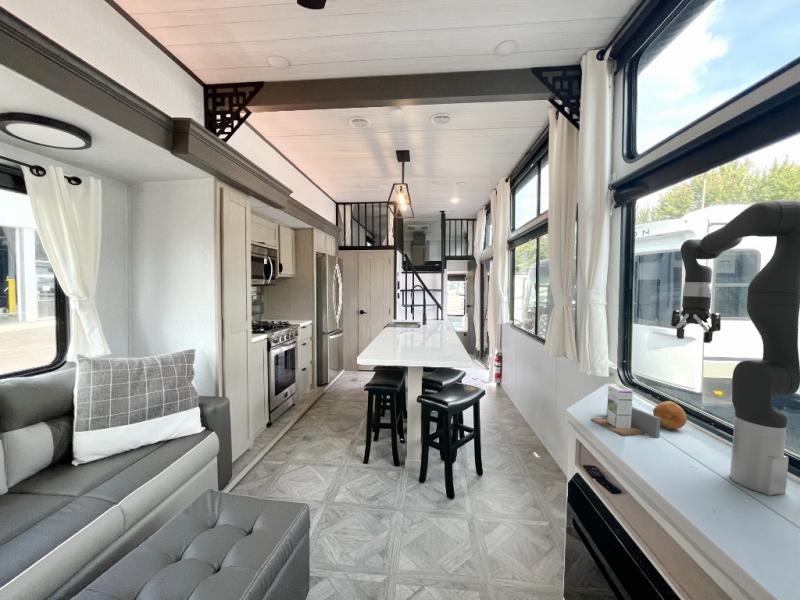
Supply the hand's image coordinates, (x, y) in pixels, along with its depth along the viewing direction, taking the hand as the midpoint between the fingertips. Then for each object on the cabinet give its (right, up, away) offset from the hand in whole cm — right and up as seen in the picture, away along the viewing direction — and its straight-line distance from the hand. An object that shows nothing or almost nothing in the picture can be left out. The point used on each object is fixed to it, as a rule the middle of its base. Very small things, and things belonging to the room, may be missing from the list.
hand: (693, 340), depth 117 cm
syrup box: (-24, -32, +5) cm, 40 cm away
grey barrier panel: (-18, -33, +7) cm, 38 cm away
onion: (-4, -34, +6) cm, 35 cm away
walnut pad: (-24, -33, +5) cm, 41 cm away
